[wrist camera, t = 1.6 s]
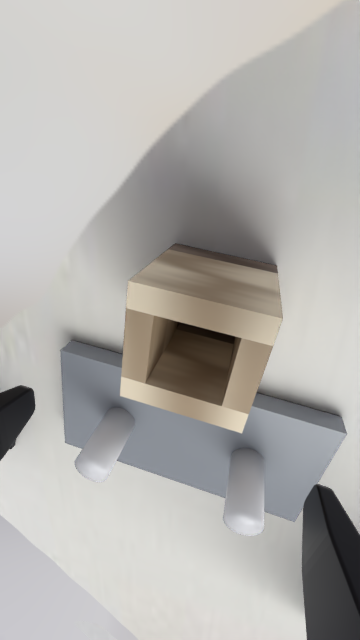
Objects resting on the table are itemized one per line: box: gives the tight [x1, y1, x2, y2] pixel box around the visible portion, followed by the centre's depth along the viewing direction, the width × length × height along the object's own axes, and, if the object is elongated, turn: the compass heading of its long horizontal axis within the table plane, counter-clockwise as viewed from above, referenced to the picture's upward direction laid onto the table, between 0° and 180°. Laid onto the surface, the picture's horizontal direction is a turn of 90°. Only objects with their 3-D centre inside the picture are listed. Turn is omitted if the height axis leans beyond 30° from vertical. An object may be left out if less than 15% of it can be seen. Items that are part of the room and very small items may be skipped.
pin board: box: [61, 340, 347, 536], centre depth 21 cm, size 20×10×6 cm, turn 81°
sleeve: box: [120, 244, 283, 433], centre depth 16 cm, size 6×6×7 cm
